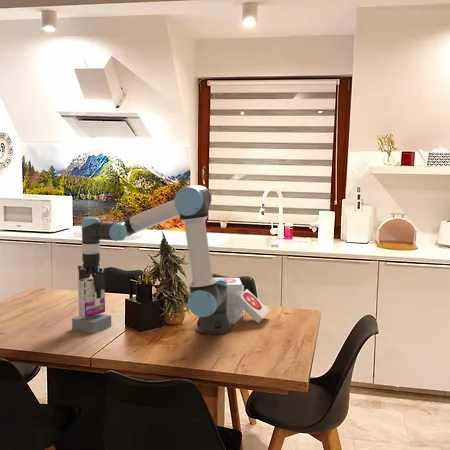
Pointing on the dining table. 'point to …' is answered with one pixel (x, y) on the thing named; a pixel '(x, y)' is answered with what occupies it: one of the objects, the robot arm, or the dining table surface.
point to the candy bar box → (89, 298)
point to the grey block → (91, 323)
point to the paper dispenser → (242, 302)
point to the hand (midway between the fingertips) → (91, 304)
